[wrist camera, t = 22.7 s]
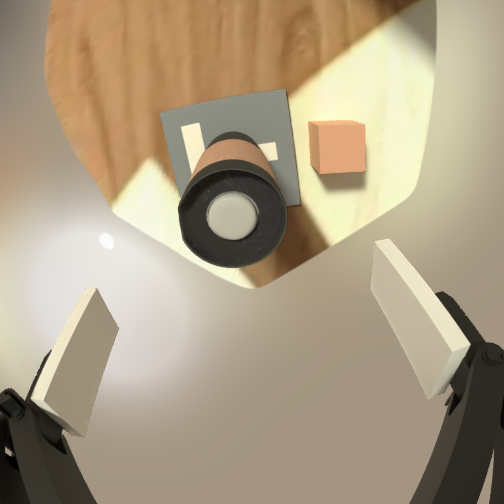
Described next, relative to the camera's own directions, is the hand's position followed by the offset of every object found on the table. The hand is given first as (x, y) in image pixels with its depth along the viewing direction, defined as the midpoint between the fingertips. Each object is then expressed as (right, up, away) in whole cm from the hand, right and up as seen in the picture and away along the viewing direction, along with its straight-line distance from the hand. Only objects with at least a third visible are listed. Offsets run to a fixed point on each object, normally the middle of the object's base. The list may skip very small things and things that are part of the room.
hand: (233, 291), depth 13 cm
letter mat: (-2, +14, +24) cm, 28 cm away
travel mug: (-2, +14, +24) cm, 28 cm away
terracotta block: (+11, +17, +24) cm, 31 cm away
